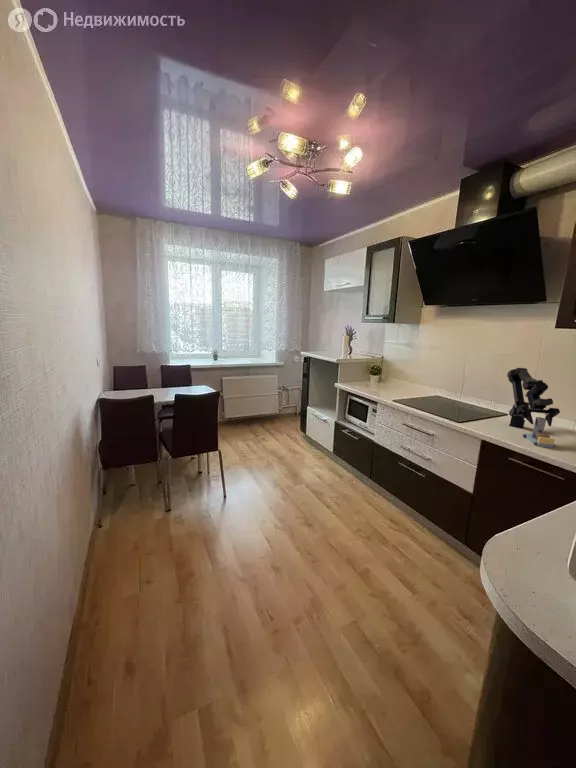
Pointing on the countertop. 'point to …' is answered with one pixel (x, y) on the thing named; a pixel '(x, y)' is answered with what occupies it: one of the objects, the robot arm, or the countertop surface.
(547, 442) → the cart
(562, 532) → the countertop surface
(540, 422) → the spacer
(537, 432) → the collected block
